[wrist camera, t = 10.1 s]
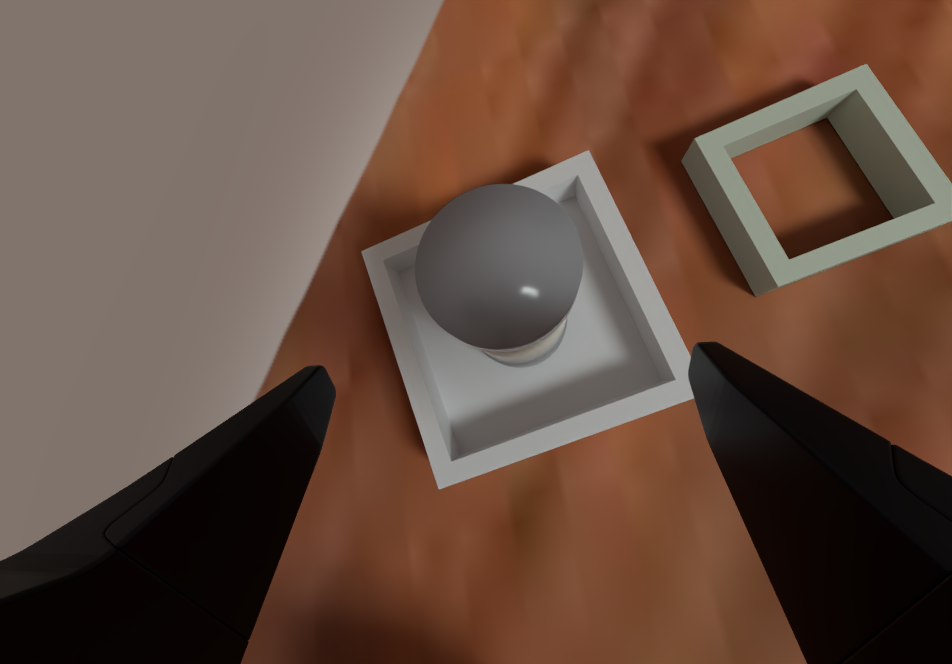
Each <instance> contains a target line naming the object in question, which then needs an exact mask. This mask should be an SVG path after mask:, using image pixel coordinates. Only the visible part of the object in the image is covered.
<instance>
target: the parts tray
mask: <svg viewBox="0 0 952 664" xmlns="http://www.w3.org/2000/svg"><path fill="white" fill-rule="evenodd" d="M514 184H515V185H520V186H525V187H528V188H531V189H534V190H537V191H539V192H541V193H543V194H545V195H546V196H548V197H549V198H551V199H552V200H554V201H555V202H556V203H557V204H558V205H560V206H561V207H562V208H563V210H564V211H565V212H566V213H567V214H568V215H569V217H570V218H571V220H572V222H573V223H574V225H575V227H576V229H577V231H578V234H579V237H580V240H581V243H582V249H583V273H582V279H581V283H580V286H579V290H578V293H577V296H576V299H575V302H574V304H573V306H572V309H571V311H570V312H569V314H568V316H567V327H566V331H565V334H564V337H563V339H562V342H561V344H560V345H559V347H558V349H557V350H556V351H555V352H554V353H553V354H552V355H551V356H550V357H549V358H548V359H546V360H545V361H543V362H541V363H539V364H537V365H534V366H531V367H525V368H514V367H508V366H505V365H502V364H500V363H498V362H496V361H494V360H493V359H491V358H490V357H488V356H487V355H486V354H485V353H483V351H482V350H481V349H478V348H475V347H472V346H470V345H468V344H466V343H464V342H462V341H461V340H459V339H457V338H456V337H454V336H452V335H451V334H449V333H448V332H446V331H445V330H444V329H443V328H441V327H440V326H439V325H438V324H437V323H436V322H435V321H434V320H433V319H432V317H431V316H430V315H429V313H428V312H427V310H426V309H425V307H424V305H423V303H422V301H421V298H420V296H419V293H418V290H417V285H416V279H415V260H416V255H417V249H418V246H419V243H420V240H421V238H422V236H423V234H424V232H425V230H426V228H427V226H428V225H429V223H430V222H431V220H430V221H428V222H426V223H424V224H421V225H419V226H417V227H415V228H412V229H410V230H408V231H406V232H403V233H401V234H399V235H397V236H394V237H392V238H390V239H388V240H385V241H383V242H381V243H379V244H376V245H374V246H372V247H370V248H367V249H365V250H363V251H361V252H362V255H363V258H364V261H365V265H366V268H367V271H368V274H369V277H370V280H371V283H372V286H373V289H374V292H375V295H376V298H377V301H378V304H379V308H380V311H381V314H382V317H383V320H384V323H385V326H386V329H387V332H388V335H389V338H390V341H391V344H392V347H393V350H394V354H395V357H396V360H397V363H398V366H399V369H400V372H401V375H402V378H403V381H404V384H405V387H406V390H407V393H408V396H409V400H410V403H411V406H412V409H413V412H414V415H415V418H416V421H417V424H418V427H419V430H420V433H421V436H422V439H423V443H424V446H425V449H426V452H427V455H428V458H429V461H430V464H431V467H432V470H433V473H434V476H435V479H436V482H437V485H438V489H442V488H445V487H447V486H450V485H453V484H456V483H459V482H461V481H464V480H467V479H470V478H473V477H475V476H478V475H481V474H484V473H486V472H489V471H492V470H495V469H498V468H500V467H503V466H506V465H509V464H512V463H514V462H517V461H520V460H523V459H526V458H528V457H531V456H534V455H537V454H539V453H542V452H545V451H548V450H551V449H553V448H556V447H559V446H562V445H565V444H567V443H570V442H573V441H576V440H579V439H581V438H584V437H587V436H590V435H593V434H595V433H598V432H601V431H604V430H606V429H609V428H612V427H615V426H618V425H620V424H623V423H626V422H629V421H632V420H634V419H637V418H640V417H643V416H646V415H648V414H651V413H654V412H657V411H659V410H662V409H665V408H668V407H671V406H673V405H676V404H679V403H682V402H685V401H687V400H690V399H693V398H694V396H693V392H692V389H691V386H690V382H689V378H688V369H689V364H690V360H691V357H690V355H689V353H688V350H687V348H686V346H685V344H684V342H683V340H682V338H681V336H680V334H679V332H678V330H677V328H676V326H675V324H674V322H673V320H672V318H671V316H670V314H669V312H668V310H667V308H666V306H665V304H664V302H663V300H662V298H661V296H660V294H659V292H658V290H657V288H656V286H655V284H654V282H653V280H652V278H651V275H650V273H649V271H648V269H647V267H646V265H645V263H644V261H643V259H642V257H641V255H640V253H639V251H638V249H637V247H636V245H635V243H634V241H633V239H632V237H631V235H630V233H629V231H628V229H627V227H626V225H625V223H624V221H623V219H622V217H621V215H620V213H619V211H618V209H617V207H616V205H615V203H614V200H613V198H612V196H611V194H610V192H609V190H608V188H607V186H606V184H605V182H604V180H603V178H602V176H601V174H600V172H599V170H598V168H597V166H596V164H595V162H594V160H593V158H592V156H591V154H590V152H589V150H588V151H586V152H583V153H581V154H579V155H577V156H574V157H572V158H570V159H568V160H565V161H563V162H561V163H559V164H556V165H554V166H552V167H550V168H547V169H545V170H543V171H541V172H538V173H536V174H534V175H532V176H529V177H527V178H525V179H523V180H520V181H518V182H516V183H514Z"/></svg>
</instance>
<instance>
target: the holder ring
mask: <svg viewBox="0 0 952 664" xmlns="http://www.w3.org/2000/svg"><path fill="white" fill-rule="evenodd" d="M825 118H828V120H829V121H830V123H831V124H832V126H833V127H834V129H835V130H836V132H837V133H838V135H839V136H840V138H841V139H842V141H843V142H844V144H845V145H846V147H847V148H848V150H849V152H850V153H851V155H852V156H853V158H854V159H855V161H856V162H857V164H858V165H859V167H860V168H861V170H862V171H863V173H864V174H865V176H866V177H867V179H868V180H869V182H870V183H871V185H872V186H873V188H874V189H875V191H876V192H877V194H878V195H879V197H880V198H881V200H882V201H883V203H884V205H885V206H886V208H887V209H888V211H889V212H890V214H891V215H892V217H893V218H894V219H892V220H890V221H887V222H885V223H882V224H880V225H877V226H874V227H872V228H869V229H867V230H864V231H862V232H859V233H856V234H854V235H851V236H849V237H846V238H844V239H841V240H838V241H836V242H833V243H831V244H828V245H825V246H823V247H820V248H818V249H815V250H813V251H810V252H807V253H805V254H802V255H800V256H797V257H795V258H792V259H788V257H787V255H786V253H785V252H784V250H783V248H782V247H781V245H780V243H779V241H778V240H777V238H776V236H775V235H774V233H773V231H772V229H771V228H770V226H769V224H768V222H767V221H766V219H765V217H764V216H763V214H762V212H761V210H760V209H759V207H758V205H757V204H756V202H755V200H754V198H753V197H752V195H751V193H750V191H749V190H748V188H747V186H746V185H745V183H744V181H743V179H742V178H741V176H740V174H739V173H738V171H737V169H736V167H735V166H734V164H733V162H732V161H731V158H733V157H735V156H738V155H740V154H742V153H745V152H747V151H749V150H752V149H754V148H756V147H759V146H761V145H764V144H766V143H768V142H771V141H773V140H775V139H778V138H780V137H782V136H785V135H787V134H789V133H792V132H794V131H797V130H799V129H801V128H804V127H806V126H808V125H811V124H813V123H815V122H818V121H820V120H822V119H825ZM681 162H682V164H683V166H684V167H685V169H686V171H687V173H688V175H689V177H690V178H691V180H692V182H693V184H694V186H695V187H696V189H697V191H698V193H699V195H700V197H701V198H702V200H703V202H704V204H705V206H706V208H707V209H708V211H709V213H710V215H711V217H712V218H713V220H714V222H715V224H716V226H717V228H718V229H719V231H720V233H721V235H722V237H723V239H724V240H725V242H726V244H727V246H728V248H729V249H730V251H731V253H732V255H733V257H734V259H735V260H736V262H737V264H738V266H739V268H740V269H741V271H742V273H743V275H744V277H745V279H746V280H747V282H748V284H749V286H750V288H751V290H752V291H753V293H754V295H755V297H757V296H760V295H762V294H765V293H767V292H770V291H773V290H775V289H778V288H781V287H783V286H786V285H788V284H791V283H794V282H796V281H799V280H802V279H804V278H807V277H809V276H812V275H815V274H817V273H820V272H823V271H825V270H828V269H830V268H833V267H836V266H838V265H841V264H844V263H846V262H849V261H851V260H854V259H857V258H859V257H862V256H865V255H867V254H870V253H872V252H875V251H878V250H880V249H883V248H886V247H888V246H891V245H893V244H896V243H899V242H901V241H904V240H907V239H909V238H912V237H914V236H917V235H920V234H922V233H925V232H928V231H930V230H932V229H935V228H937V227H940V226H942V225H944V224H947V223H949V222H952V183H951V182H950V181H949V179H948V178H947V176H946V175H945V174H944V172H943V171H942V169H941V168H940V167H939V165H938V164H937V162H936V161H935V159H934V158H933V157H932V155H931V154H930V152H929V151H928V150H927V148H926V147H925V145H924V144H923V143H922V141H921V140H920V138H919V137H918V136H917V134H916V133H915V131H914V130H913V129H912V127H911V126H910V124H909V123H908V122H907V120H906V119H905V117H904V116H903V114H902V113H901V112H900V110H899V109H898V107H897V106H896V105H895V103H894V102H893V100H892V99H891V98H890V96H889V95H888V93H887V92H886V91H885V89H884V88H883V86H882V85H881V84H880V82H879V81H878V79H877V78H876V77H875V75H874V74H873V72H872V71H871V69H870V68H869V67H868V65H867V64H865V65H862V66H860V67H858V68H855V69H853V70H851V71H849V72H846V73H844V74H842V75H839V76H837V77H835V78H832V79H830V80H828V81H826V82H823V83H821V84H819V85H816V86H814V87H812V88H809V89H807V90H805V91H803V92H800V93H798V94H796V95H793V96H791V97H789V98H786V99H784V100H782V101H780V102H777V103H775V104H773V105H770V106H768V107H766V108H763V109H761V110H759V111H757V112H754V113H752V114H750V115H747V116H745V117H743V118H740V119H738V120H736V121H733V122H731V123H729V124H727V125H724V126H722V127H720V128H717V129H715V130H713V131H710V132H708V133H706V134H704V135H701V136H699V137H697V138H694V140H693V142H692V143H691V145H690V147H689V149H688V150H687V152H686V154H685V155H684V157H683V159H682V160H681Z"/></svg>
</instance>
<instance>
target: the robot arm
mask: <svg viewBox="0 0 952 664" xmlns="http://www.w3.org/2000/svg"><path fill="white" fill-rule="evenodd" d="M688 378H689V382H690V386H691V389H692V392H693V396H694V399H695V402H696V405H697V409H698V412H699V415H700V418H701V422H702V425H703V428H704V431H705V434H706V437H707V440H708V443H709V445H710V448H711V450H712V452H713V454H714V457H715V459H716V461H717V463H718V466H719V468H720V470H721V472H722V475H723V477H724V479H725V481H726V483H727V486H728V488H729V490H730V492H731V495H732V497H733V499H734V501H735V504H736V506H737V508H738V510H739V513H740V515H741V517H742V519H743V521H744V524H745V526H746V528H747V530H748V533H749V535H750V537H751V539H752V542H753V544H754V546H755V548H756V550H757V553H758V555H759V557H760V559H761V562H762V564H763V566H764V568H765V571H766V573H767V575H768V577H769V580H770V582H771V584H772V586H773V588H774V591H775V593H776V595H777V597H778V600H779V602H780V604H781V606H782V609H783V611H784V613H785V615H786V617H787V620H788V622H789V624H790V626H791V629H792V631H793V633H794V635H795V638H796V640H797V642H798V644H799V647H800V649H801V651H802V653H803V655H804V658H805V660H806V662H807V664H952V476H950V475H948V474H947V473H945V472H943V471H941V470H940V469H938V468H936V467H934V466H932V465H931V464H929V463H927V462H925V461H923V460H922V459H920V458H918V457H916V456H915V455H913V454H911V453H909V452H908V451H906V450H904V449H902V448H901V447H899V446H897V445H891V442H890V441H888V440H886V439H885V438H883V437H881V436H880V435H878V434H876V433H874V432H873V431H871V430H869V429H867V428H866V427H864V426H862V425H860V424H859V423H857V422H855V421H853V420H852V419H850V418H848V417H847V416H845V415H843V414H841V413H840V412H838V411H836V410H834V409H833V408H831V407H829V406H827V405H826V404H824V403H822V402H820V401H819V400H817V399H815V398H813V397H812V396H810V395H808V394H807V393H805V392H803V391H801V390H800V389H798V388H796V387H794V386H793V385H791V384H789V383H787V382H786V381H784V380H782V379H780V378H779V377H777V376H775V375H774V374H772V373H770V372H768V371H767V370H765V369H763V368H761V367H760V366H758V365H756V364H754V363H753V362H751V361H749V360H747V359H746V358H744V357H742V356H740V355H739V354H737V353H735V352H734V351H732V350H730V349H728V348H727V347H725V346H723V345H721V344H720V343H718V342H698V343H696V344H695V345H694V347H693V350H692V355H691V360H690V364H689V369H688ZM335 397H336V390H335V387H334V385H333V383H332V381H331V379H330V377H329V375H328V373H327V371H326V369H325V368H324V367H323V366H321V365H317V366H307V367H305V368H303V369H302V370H300V371H299V372H297V373H296V374H294V375H293V376H291V377H290V378H288V379H287V380H286V381H284V382H283V383H281V384H280V385H278V386H277V387H275V388H274V389H272V390H271V391H269V392H268V393H266V394H265V395H263V396H262V397H260V398H259V399H257V400H256V401H254V402H253V403H251V404H250V405H248V406H247V407H245V408H244V409H243V410H241V411H239V412H238V413H237V414H235V415H234V416H232V417H231V418H229V419H228V420H226V421H225V422H223V423H222V424H220V425H219V426H217V427H216V428H214V429H213V430H211V431H210V432H208V433H207V434H205V435H204V436H202V437H201V438H199V439H198V440H196V441H195V442H193V443H192V444H191V445H189V446H188V447H186V448H185V449H183V450H182V451H180V452H179V453H177V454H176V455H175V456H174V458H173V457H172V458H170V459H168V460H167V461H165V462H164V463H162V464H161V465H159V466H158V467H156V468H155V469H153V470H152V471H150V472H149V473H147V474H146V475H144V476H143V477H141V478H140V479H138V480H137V481H135V482H133V483H132V484H131V485H129V486H128V487H126V488H124V489H123V490H121V491H119V492H118V493H116V494H114V495H113V496H111V497H110V498H108V499H107V500H105V501H103V502H102V503H100V504H98V505H97V506H95V507H93V508H92V509H90V510H89V511H87V512H85V513H84V514H82V515H80V516H79V517H77V518H75V519H74V520H72V521H70V522H69V523H67V524H66V525H64V526H62V527H61V528H59V529H57V530H56V531H54V532H52V533H51V534H49V535H47V536H46V537H44V538H43V539H41V540H39V541H38V542H36V543H34V544H33V545H31V546H29V547H27V548H26V549H24V550H23V551H20V552H19V553H17V554H15V555H12V556H10V557H8V558H6V559H4V560H2V561H0V664H241V661H242V658H243V656H244V653H245V650H246V648H247V645H248V640H249V639H250V637H251V634H252V631H253V629H254V626H255V623H256V621H257V618H258V616H259V613H260V610H261V608H262V605H263V602H264V600H265V597H266V594H267V592H268V589H269V587H270V584H271V581H272V579H273V576H274V573H275V571H276V568H277V566H278V563H279V560H280V558H281V555H282V552H283V550H284V547H285V544H286V542H287V539H288V537H289V534H290V531H291V529H292V526H293V523H294V521H295V518H296V515H297V513H298V510H299V508H300V505H301V502H302V500H303V497H304V494H305V492H306V489H307V487H308V484H309V481H310V479H311V476H312V473H313V471H314V468H315V465H316V463H317V460H318V458H319V455H320V452H321V449H322V446H323V442H324V439H325V435H326V431H327V428H328V424H329V420H330V416H331V412H332V409H333V405H334V401H335Z"/></svg>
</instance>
